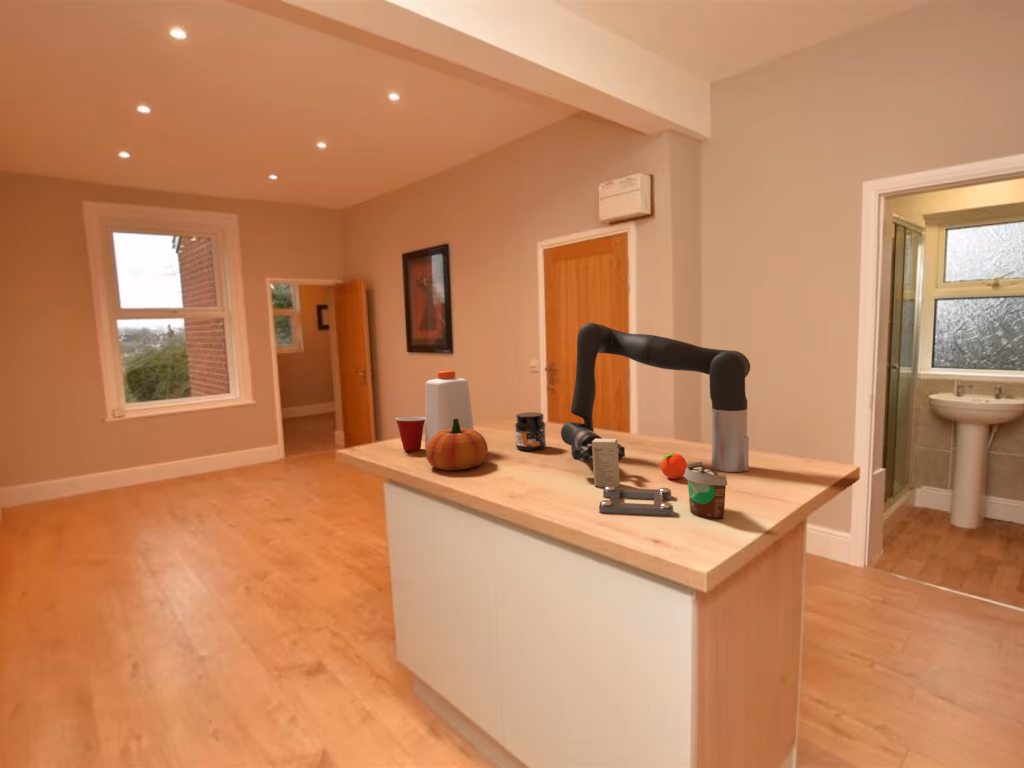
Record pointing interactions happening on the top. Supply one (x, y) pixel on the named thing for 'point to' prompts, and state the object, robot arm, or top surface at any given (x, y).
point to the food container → (706, 491)
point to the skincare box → (605, 462)
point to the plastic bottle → (446, 404)
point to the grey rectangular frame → (637, 509)
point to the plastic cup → (411, 432)
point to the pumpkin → (456, 448)
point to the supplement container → (530, 431)
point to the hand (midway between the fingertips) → (604, 457)
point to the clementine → (673, 465)
